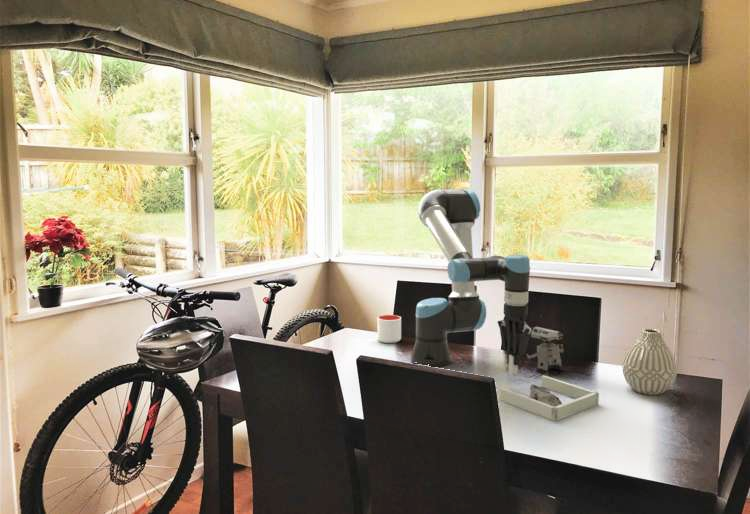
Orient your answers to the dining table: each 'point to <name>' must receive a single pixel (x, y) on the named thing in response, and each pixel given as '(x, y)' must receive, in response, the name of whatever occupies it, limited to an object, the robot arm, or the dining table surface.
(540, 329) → the figurine
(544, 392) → the mineral rock
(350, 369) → the dining table surface
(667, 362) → the vase
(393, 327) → the cup
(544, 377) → the corral
